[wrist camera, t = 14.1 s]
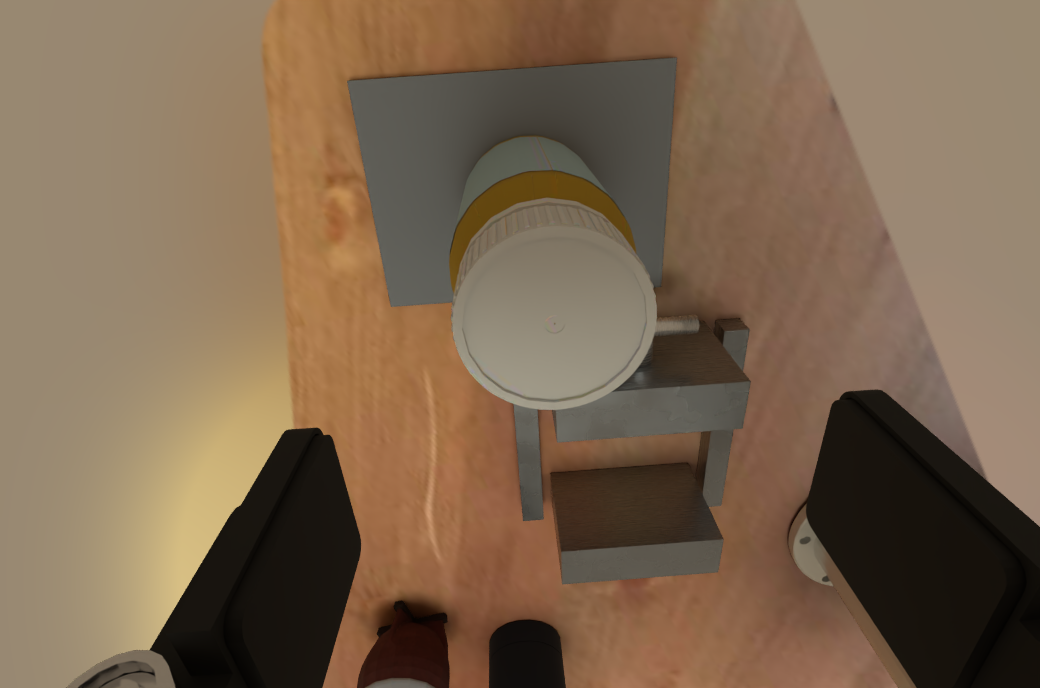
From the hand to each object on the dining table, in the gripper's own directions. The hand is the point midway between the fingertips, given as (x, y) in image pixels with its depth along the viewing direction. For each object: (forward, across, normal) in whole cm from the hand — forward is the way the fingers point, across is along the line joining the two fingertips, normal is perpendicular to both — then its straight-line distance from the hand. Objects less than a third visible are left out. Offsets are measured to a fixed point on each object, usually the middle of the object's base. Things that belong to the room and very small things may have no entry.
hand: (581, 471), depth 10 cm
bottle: (+22, 0, 0) cm, 22 cm away
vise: (+22, -6, +14) cm, 27 cm away
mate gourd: (+22, +12, +35) cm, 44 cm away
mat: (+22, 0, -1) cm, 22 cm away
